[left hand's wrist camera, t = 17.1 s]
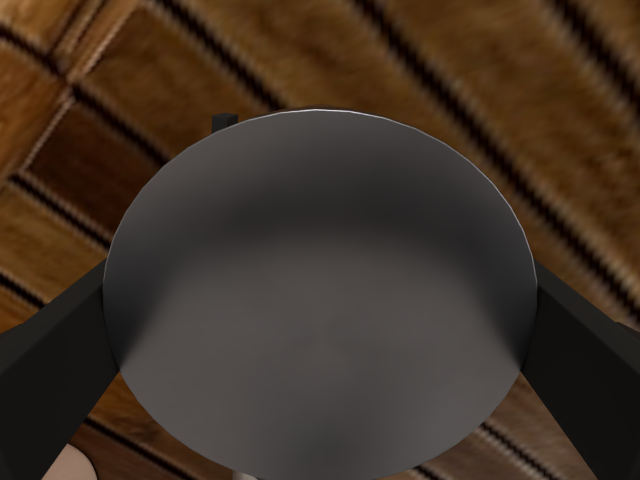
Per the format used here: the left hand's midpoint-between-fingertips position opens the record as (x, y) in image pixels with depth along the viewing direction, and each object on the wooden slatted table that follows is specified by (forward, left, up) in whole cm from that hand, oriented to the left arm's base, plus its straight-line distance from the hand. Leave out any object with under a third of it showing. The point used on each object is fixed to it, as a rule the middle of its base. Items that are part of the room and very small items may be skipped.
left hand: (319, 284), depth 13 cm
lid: (0, 0, +2) cm, 2 cm away
